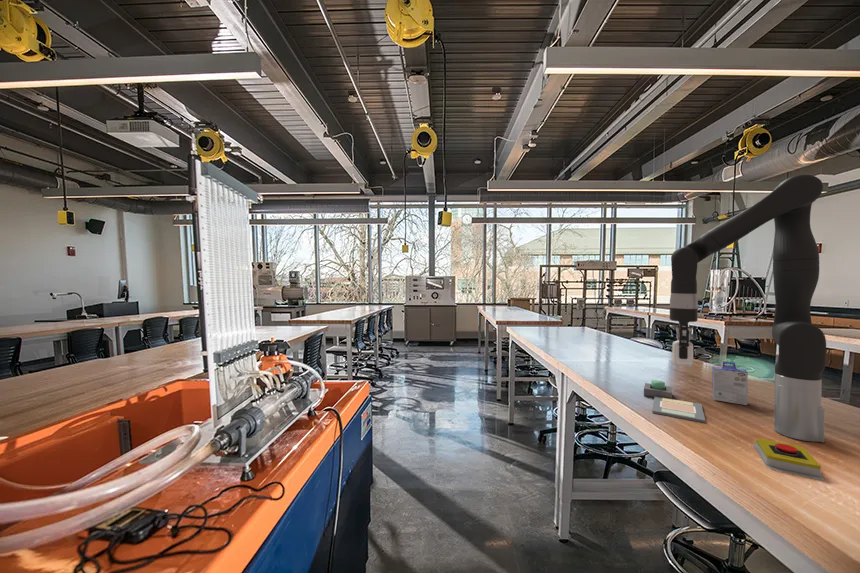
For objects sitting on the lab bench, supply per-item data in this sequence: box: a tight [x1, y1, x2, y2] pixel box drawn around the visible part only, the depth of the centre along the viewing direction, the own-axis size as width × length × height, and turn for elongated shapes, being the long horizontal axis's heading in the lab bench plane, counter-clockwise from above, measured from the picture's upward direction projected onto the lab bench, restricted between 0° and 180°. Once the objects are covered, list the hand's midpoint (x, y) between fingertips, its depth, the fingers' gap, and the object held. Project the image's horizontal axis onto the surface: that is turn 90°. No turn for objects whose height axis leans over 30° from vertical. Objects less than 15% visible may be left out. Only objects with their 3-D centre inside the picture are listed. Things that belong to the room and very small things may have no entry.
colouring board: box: [651, 396, 706, 424], centre depth 117 cm, size 14×18×1 cm
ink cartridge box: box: [711, 361, 749, 406], centre depth 125 cm, size 10×6×14 cm, turn 53°
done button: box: [650, 379, 666, 390], centre depth 132 cm, size 4×4×3 cm
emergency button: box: [752, 437, 825, 482], centre depth 83 cm, size 9×4×15 cm
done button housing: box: [643, 382, 673, 399], centre depth 132 cm, size 9×9×3 cm
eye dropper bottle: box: [671, 340, 694, 367], centre depth 113 cm, size 4×6×12 cm
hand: (682, 357), depth 113 cm, fingers closed on eye dropper bottle, 3 cm apart
